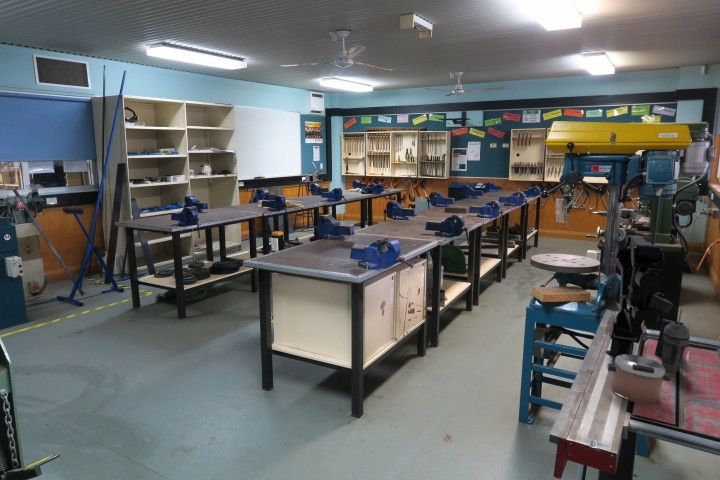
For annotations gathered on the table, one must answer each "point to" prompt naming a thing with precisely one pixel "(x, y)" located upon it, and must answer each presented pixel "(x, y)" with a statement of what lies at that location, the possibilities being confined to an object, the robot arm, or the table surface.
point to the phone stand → (660, 340)
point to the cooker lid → (640, 366)
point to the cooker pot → (636, 386)
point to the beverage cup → (674, 344)
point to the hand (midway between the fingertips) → (633, 334)
